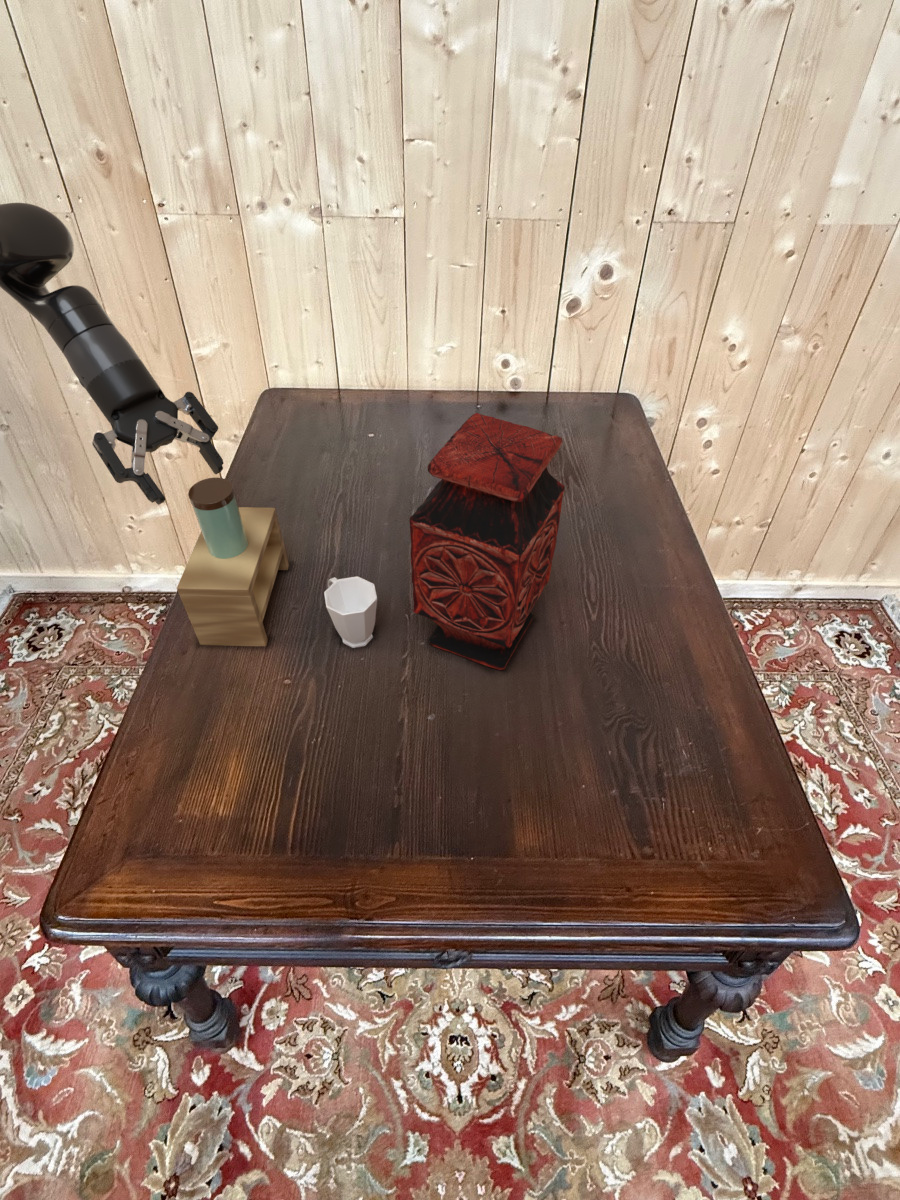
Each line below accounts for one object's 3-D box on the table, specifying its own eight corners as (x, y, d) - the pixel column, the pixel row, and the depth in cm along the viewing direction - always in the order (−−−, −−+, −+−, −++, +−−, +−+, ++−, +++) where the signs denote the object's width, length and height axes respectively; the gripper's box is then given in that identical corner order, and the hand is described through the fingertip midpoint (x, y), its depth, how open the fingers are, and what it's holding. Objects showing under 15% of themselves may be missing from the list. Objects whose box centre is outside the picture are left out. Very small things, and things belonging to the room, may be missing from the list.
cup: (347, 664, 91) (339, 623, 85) (312, 617, 97) (302, 577, 91) (392, 640, 94) (388, 599, 88) (356, 597, 99) (349, 555, 94)
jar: (245, 558, 89) (228, 503, 83) (204, 560, 89) (183, 504, 82) (251, 531, 93) (235, 476, 86) (211, 532, 93) (193, 478, 86)
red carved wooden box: (508, 687, 88) (524, 501, 66) (414, 650, 93) (400, 464, 71) (547, 615, 97) (574, 429, 75) (460, 584, 101) (460, 400, 79)
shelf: (266, 646, 93) (248, 589, 85) (200, 645, 93) (176, 588, 85) (289, 564, 104) (275, 507, 96) (230, 563, 104) (211, 506, 96)
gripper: (59, 384, 79) (146, 505, 82) (169, 339, 86) (245, 453, 89) (56, 408, 85) (137, 520, 88) (159, 365, 92) (230, 470, 95)
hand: (191, 486), depth 88 cm, fingers open, 8 cm apart
